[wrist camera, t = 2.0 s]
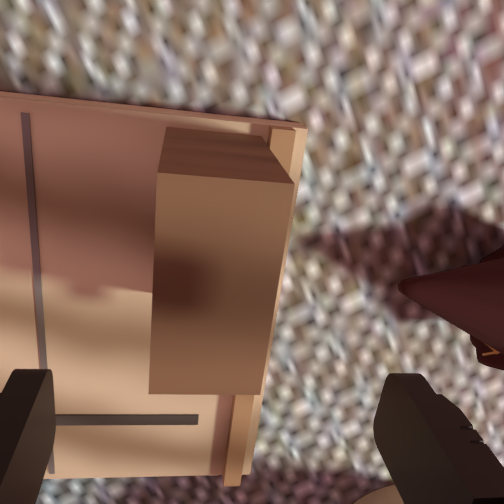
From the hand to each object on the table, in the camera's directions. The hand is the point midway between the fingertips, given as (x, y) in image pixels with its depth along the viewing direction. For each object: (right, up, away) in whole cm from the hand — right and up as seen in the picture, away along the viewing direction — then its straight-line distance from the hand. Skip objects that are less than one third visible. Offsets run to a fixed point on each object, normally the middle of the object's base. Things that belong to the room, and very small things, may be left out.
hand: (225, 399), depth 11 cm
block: (-1, +5, +10) cm, 11 cm away
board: (-5, 0, +13) cm, 14 cm away
